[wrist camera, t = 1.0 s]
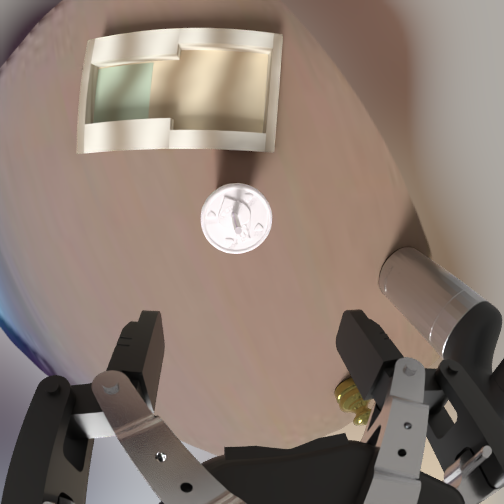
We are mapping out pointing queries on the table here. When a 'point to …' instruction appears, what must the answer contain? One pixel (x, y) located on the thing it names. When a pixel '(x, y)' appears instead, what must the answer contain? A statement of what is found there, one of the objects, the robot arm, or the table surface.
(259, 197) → the smoothie
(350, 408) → the olive green stacked toy
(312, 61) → the table surface
